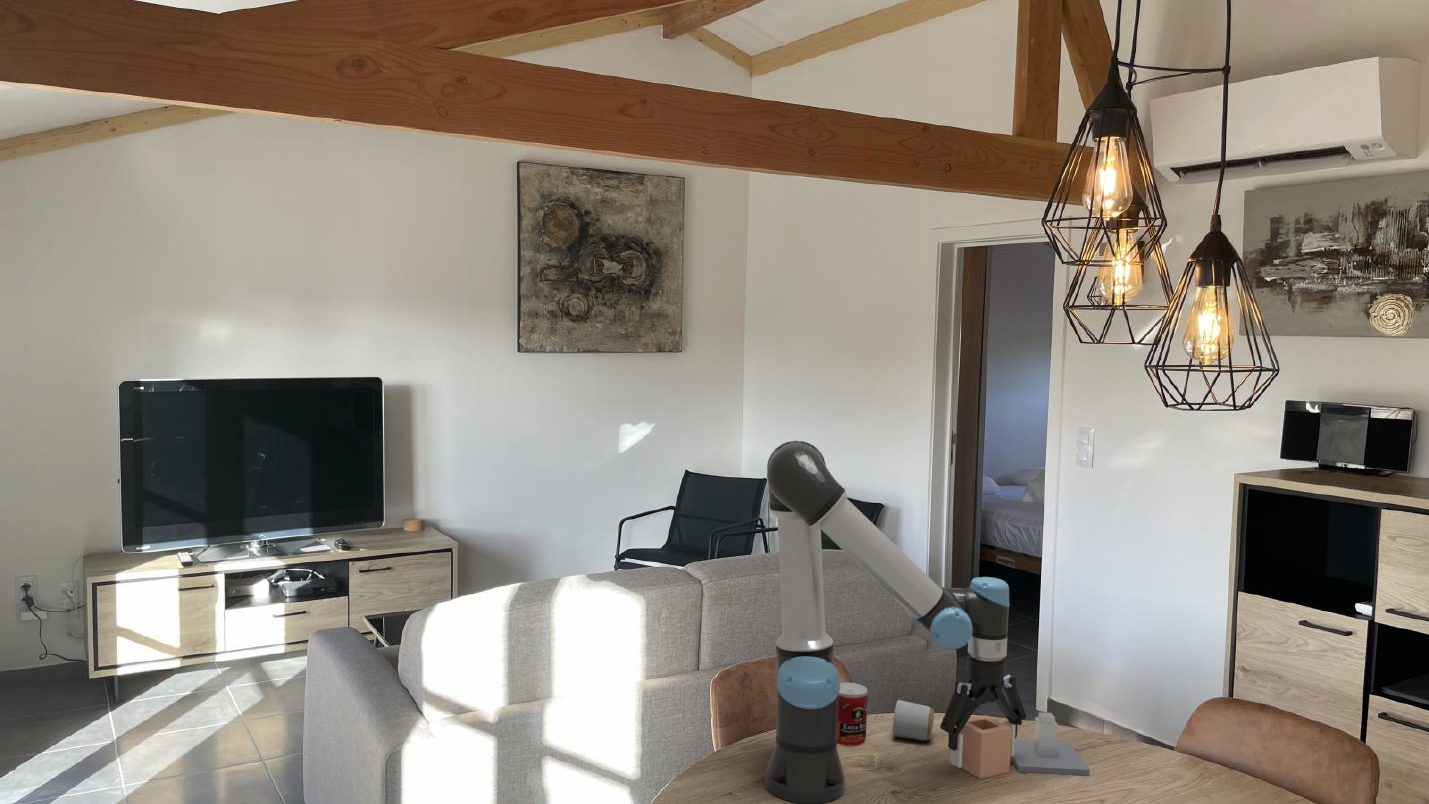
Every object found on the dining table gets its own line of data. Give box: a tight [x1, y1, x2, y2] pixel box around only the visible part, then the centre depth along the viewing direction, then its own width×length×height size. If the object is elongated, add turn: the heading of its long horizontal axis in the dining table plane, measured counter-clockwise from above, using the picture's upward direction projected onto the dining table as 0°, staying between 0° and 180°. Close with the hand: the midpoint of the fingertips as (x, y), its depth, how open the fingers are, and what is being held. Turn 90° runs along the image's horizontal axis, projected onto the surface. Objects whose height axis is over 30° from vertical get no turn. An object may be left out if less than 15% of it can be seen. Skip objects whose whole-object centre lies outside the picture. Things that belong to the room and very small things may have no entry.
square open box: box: [960, 715, 1012, 780], centre depth 207 cm, size 8×8×9 cm
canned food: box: [837, 681, 869, 746], centre depth 221 cm, size 8×8×11 cm
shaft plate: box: [1010, 739, 1091, 777], centre depth 213 cm, size 14×14×1 cm
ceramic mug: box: [892, 699, 935, 742], centre depth 224 cm, size 11×8×8 cm
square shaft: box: [1033, 711, 1059, 758], centre depth 213 cm, size 4×4×8 cm
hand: (982, 759), depth 208 cm, fingers open, 13 cm apart
